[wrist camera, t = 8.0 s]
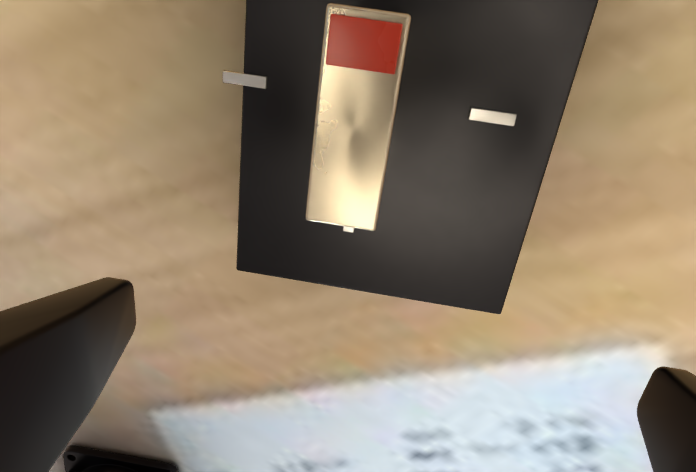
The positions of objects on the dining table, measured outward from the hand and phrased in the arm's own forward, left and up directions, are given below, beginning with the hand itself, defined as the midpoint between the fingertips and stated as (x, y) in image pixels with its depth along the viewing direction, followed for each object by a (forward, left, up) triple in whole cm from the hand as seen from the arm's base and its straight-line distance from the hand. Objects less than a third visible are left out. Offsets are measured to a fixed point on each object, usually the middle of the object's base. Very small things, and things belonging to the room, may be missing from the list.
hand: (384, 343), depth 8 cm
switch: (-1, +3, -9) cm, 9 cm away
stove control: (0, +2, -12) cm, 12 cm away
